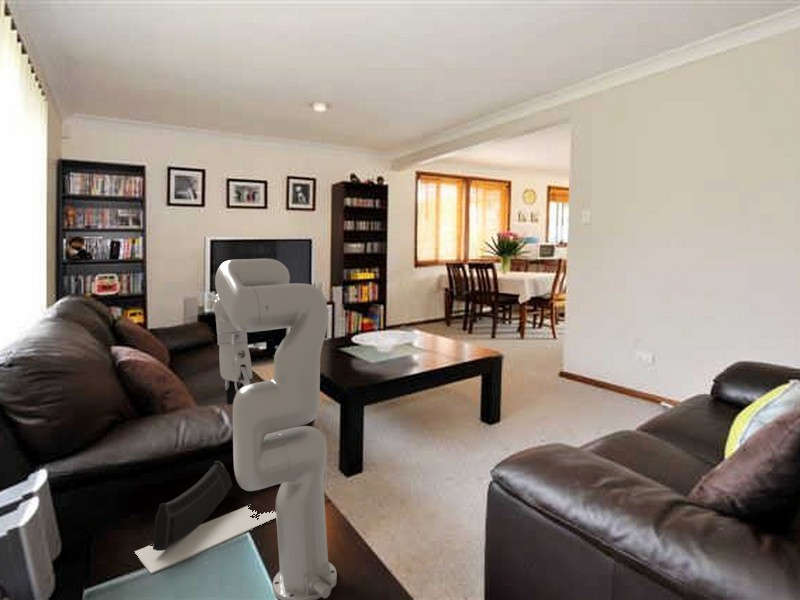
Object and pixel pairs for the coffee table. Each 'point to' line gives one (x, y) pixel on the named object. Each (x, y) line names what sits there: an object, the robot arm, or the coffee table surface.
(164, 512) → the magazine
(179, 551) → the felt mat
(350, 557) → the coffee table surface
